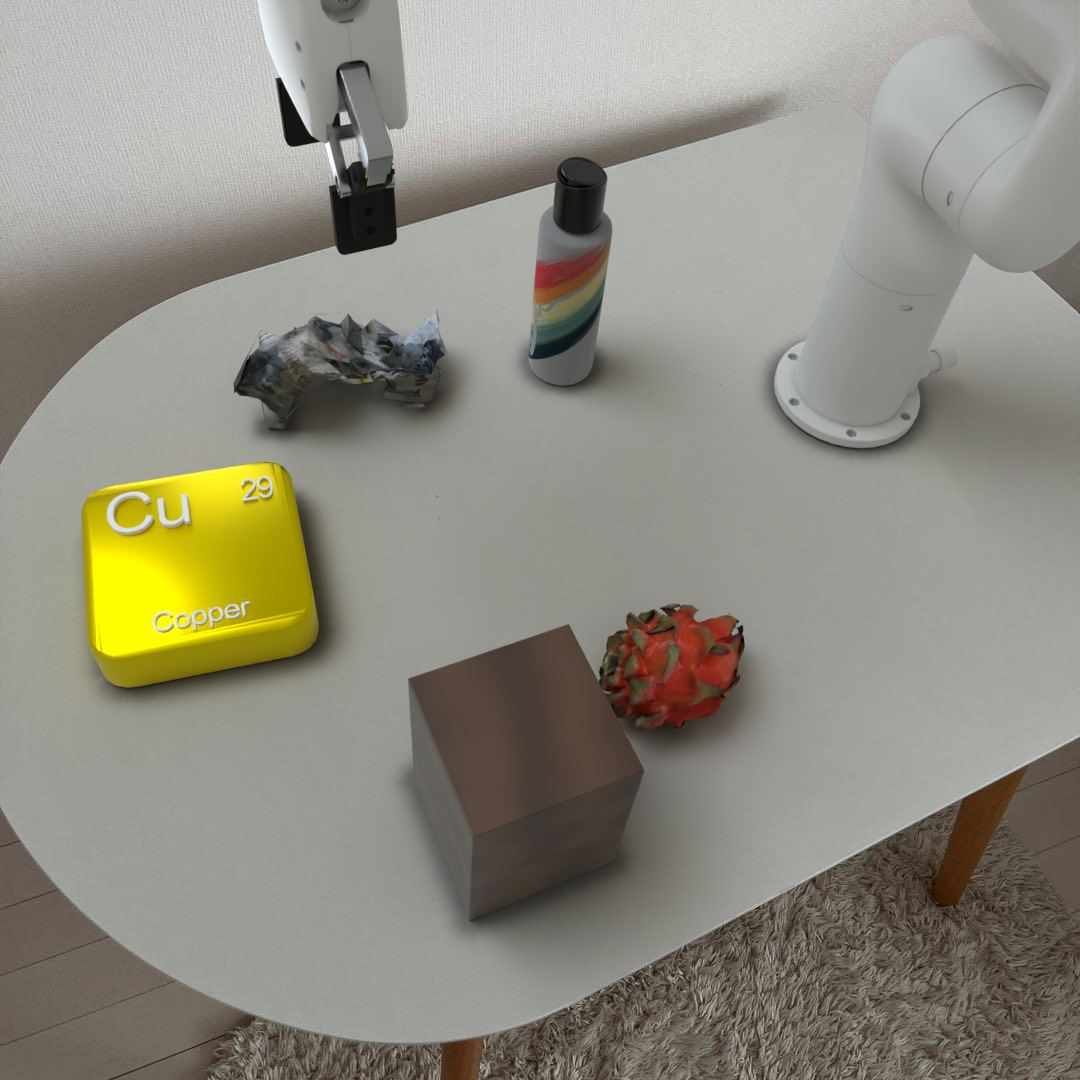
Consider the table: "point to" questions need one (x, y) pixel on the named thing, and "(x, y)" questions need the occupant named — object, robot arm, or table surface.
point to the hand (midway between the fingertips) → (339, 191)
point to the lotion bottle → (570, 274)
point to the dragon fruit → (671, 666)
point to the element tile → (196, 574)
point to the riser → (521, 768)
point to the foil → (341, 362)
